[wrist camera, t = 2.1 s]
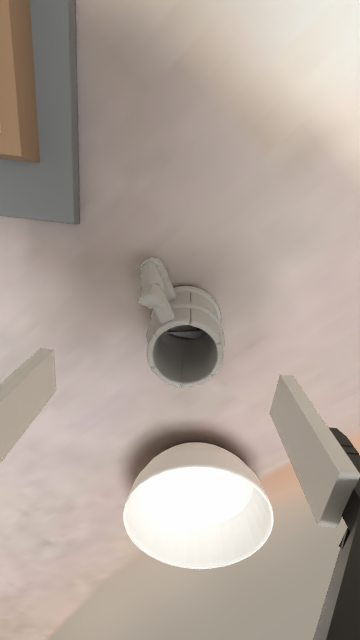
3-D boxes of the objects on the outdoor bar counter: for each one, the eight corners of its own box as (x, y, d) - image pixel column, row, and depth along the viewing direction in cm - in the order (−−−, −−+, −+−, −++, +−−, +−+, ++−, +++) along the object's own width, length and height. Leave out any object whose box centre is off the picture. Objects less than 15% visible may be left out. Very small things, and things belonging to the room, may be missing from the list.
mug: (171, 355, 34) (163, 424, 22) (122, 267, 30) (83, 298, 19) (230, 330, 32) (252, 390, 21) (185, 235, 29) (183, 247, 17)
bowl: (276, 494, 41) (293, 549, 35) (167, 526, 45) (163, 581, 38) (231, 402, 36) (241, 445, 29) (110, 446, 39) (94, 494, 32)
